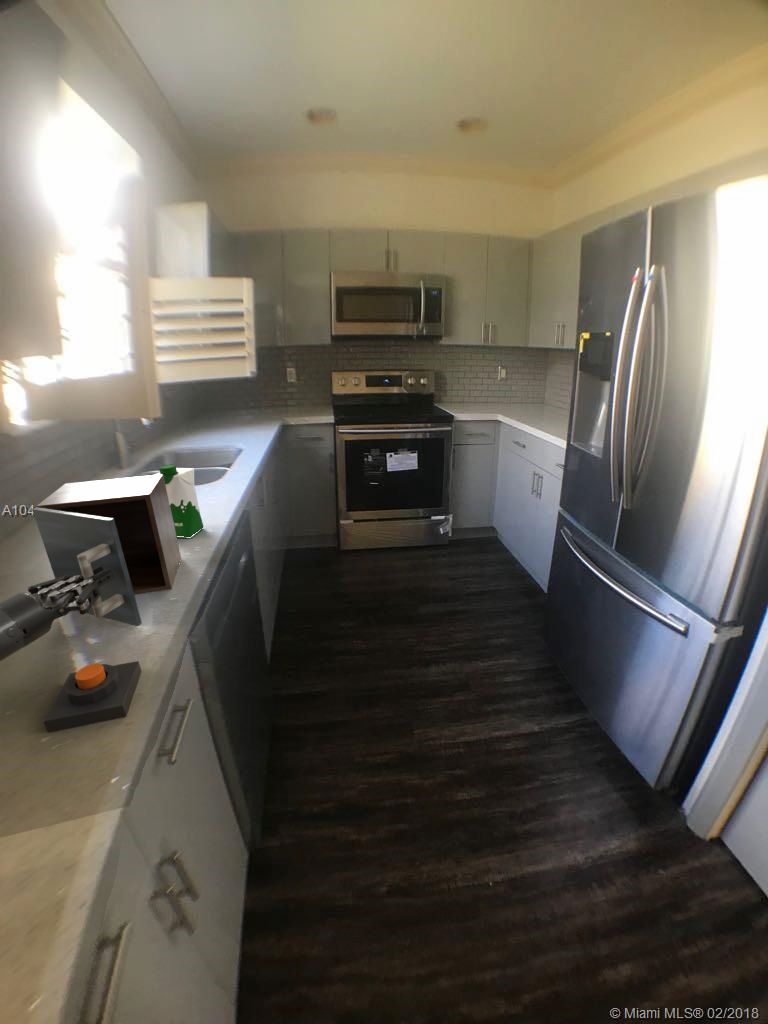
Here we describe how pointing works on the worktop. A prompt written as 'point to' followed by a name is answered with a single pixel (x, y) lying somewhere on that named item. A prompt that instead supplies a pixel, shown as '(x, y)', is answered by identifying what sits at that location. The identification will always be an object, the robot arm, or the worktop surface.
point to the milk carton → (182, 499)
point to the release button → (90, 676)
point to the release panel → (94, 699)
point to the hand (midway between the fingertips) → (106, 572)
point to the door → (89, 558)
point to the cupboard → (130, 524)
